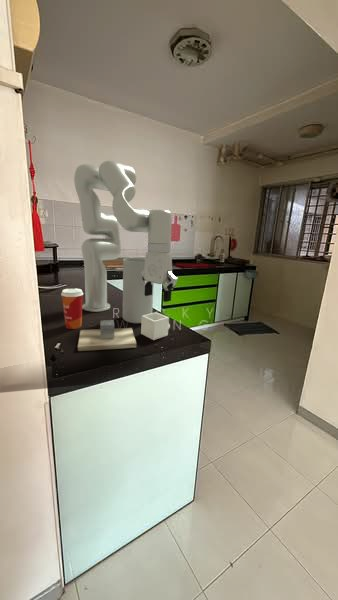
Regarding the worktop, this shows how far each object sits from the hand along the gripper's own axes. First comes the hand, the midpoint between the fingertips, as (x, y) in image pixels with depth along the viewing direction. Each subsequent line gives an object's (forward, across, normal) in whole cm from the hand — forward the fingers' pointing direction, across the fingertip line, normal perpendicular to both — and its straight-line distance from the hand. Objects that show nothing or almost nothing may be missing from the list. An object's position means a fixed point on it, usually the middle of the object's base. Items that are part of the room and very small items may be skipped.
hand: (157, 298), depth 89 cm
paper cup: (+14, -25, -20) cm, 35 cm away
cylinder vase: (+14, -18, +5) cm, 23 cm away
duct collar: (+14, -1, +1) cm, 14 cm away
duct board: (+14, -7, -16) cm, 22 cm away
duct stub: (+12, -7, -16) cm, 22 cm away
